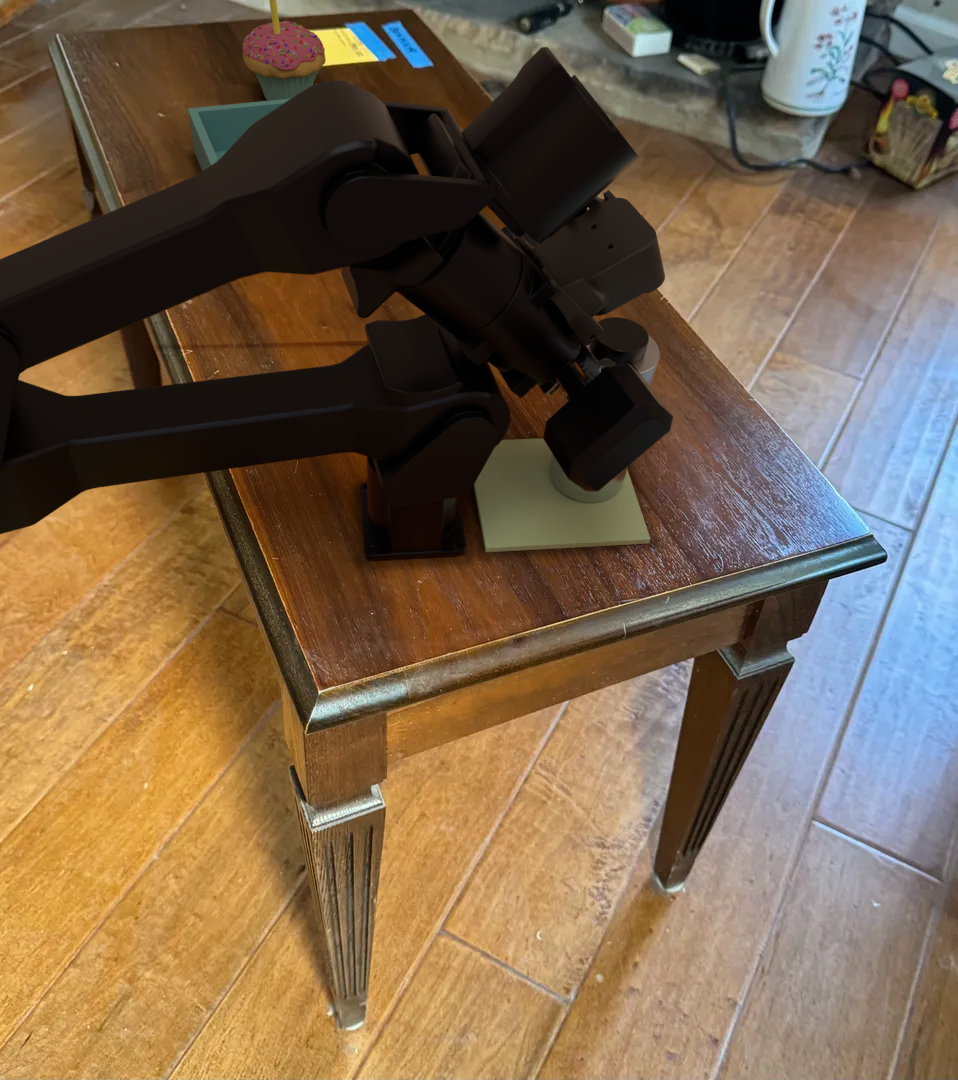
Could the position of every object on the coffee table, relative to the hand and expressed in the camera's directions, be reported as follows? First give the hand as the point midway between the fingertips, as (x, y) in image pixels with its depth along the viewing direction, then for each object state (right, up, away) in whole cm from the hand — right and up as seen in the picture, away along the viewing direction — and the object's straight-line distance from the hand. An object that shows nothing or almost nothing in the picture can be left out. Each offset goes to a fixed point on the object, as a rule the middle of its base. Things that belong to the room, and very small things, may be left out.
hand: (620, 407), depth 61 cm
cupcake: (-30, +39, +40) cm, 63 cm away
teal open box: (-28, +24, +27) cm, 46 cm away
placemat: (-4, -5, +3) cm, 8 cm away
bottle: (-2, -4, +4) cm, 6 cm away
